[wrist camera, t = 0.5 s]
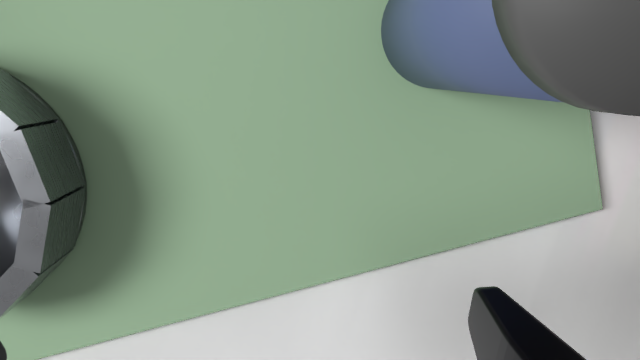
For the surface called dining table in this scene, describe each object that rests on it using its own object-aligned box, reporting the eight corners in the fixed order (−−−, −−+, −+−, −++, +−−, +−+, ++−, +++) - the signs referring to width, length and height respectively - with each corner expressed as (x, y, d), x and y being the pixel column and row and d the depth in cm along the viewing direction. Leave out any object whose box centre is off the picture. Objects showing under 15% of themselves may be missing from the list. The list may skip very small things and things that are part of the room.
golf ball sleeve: (507, 73, 21) (830, 72, 8) (393, 104, 21) (541, 149, 8) (486, -51, 20) (825, -271, 7) (366, -18, 20) (488, -179, 7)
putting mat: (594, 205, 23) (602, 209, 23) (-73, 382, 23) (-82, 390, 23) (546, -155, 20) (553, -162, 19) (-239, 61, 20) (-255, 60, 19)
